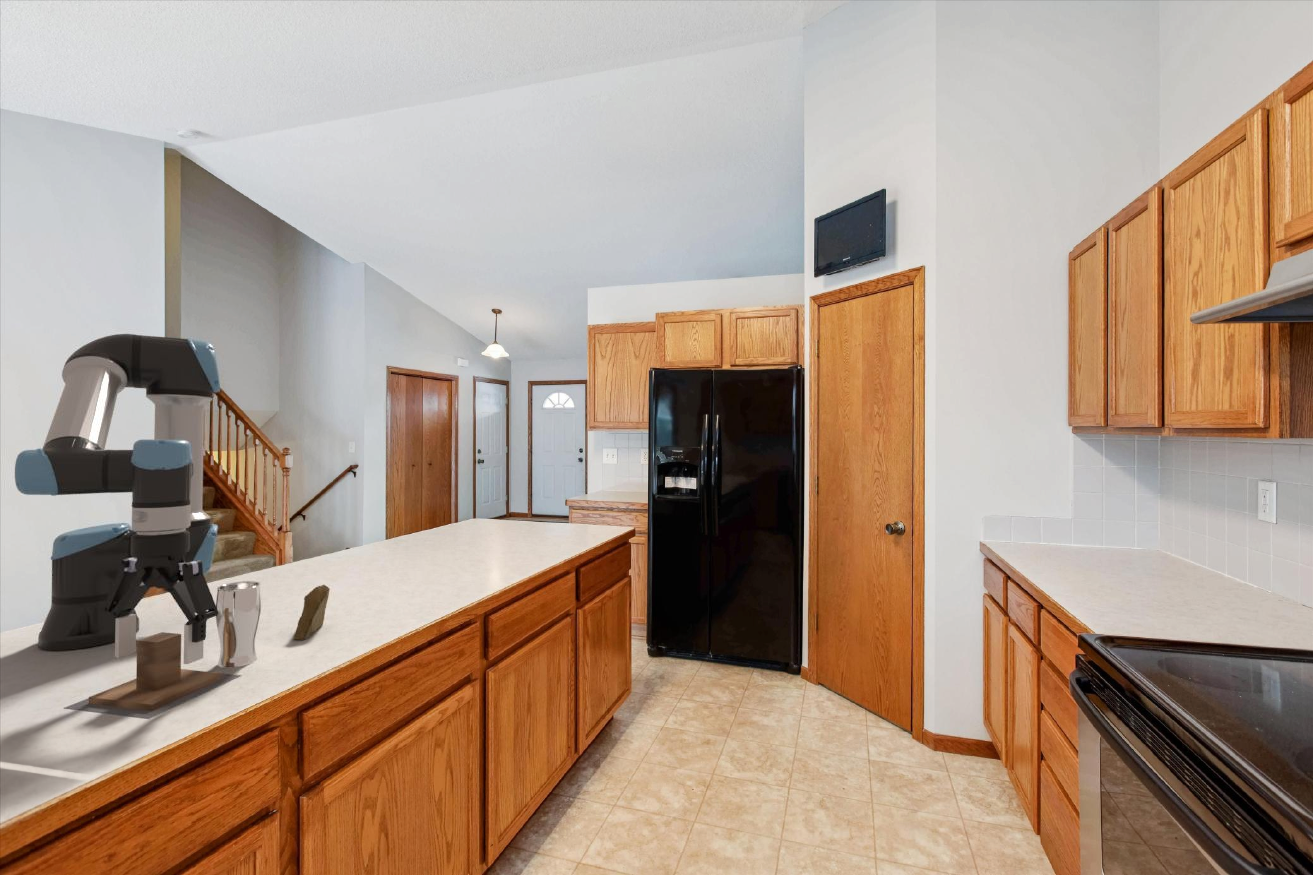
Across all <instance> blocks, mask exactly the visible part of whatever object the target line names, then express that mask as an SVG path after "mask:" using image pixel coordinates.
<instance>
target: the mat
mask: <svg viewBox="0 0 1313 875" xmlns="http://www.w3.org/2000/svg"><path fill="white" fill-rule="evenodd" d="M195 671H197V669H196V670H195ZM204 672H206V671H205V670H204ZM221 673H222V672H221ZM239 677H242V675H241V674H231V673H225V672H223V673H222V679H221V680H219V681H217V682H214V683H212V684H210V685H208V686H206V687H203V688H201V689H199V690H197V691H195V692H192V693H190V694H188V695H186V696H184V697H181V698H179V699H177V700H175V701H173V702H170V703H168V704H166V705H164V706H162V707H159V708H157V709H155V710H153V711H147V710H139V709H131V708H122V707H114V706H106V705H98V704H90V703H89V697H88V698H85V699H83V700H81V701H77V702H75V703H73V704H70V705H68V706H65V707H64V710H65V709H66V710H67V709H68V710H74V711H75V710H76V711H83V712H91V713H98V714H104V715H105V714H106V715H112V716H121V717H122V716H123V717H131V718H136V719H137V718H138V719H146V720H150V719H152V718H154V717H156V716H158V715H161V714H163V713H164V712H167V711H168V710H169V711H170V710H171V709H173V708H176V707H177V706H179V705H182V704H185V703H186V702H189V701H190V700H193V699H195V698H197V697H199V696H201V695H204V694H205V693H207V692H210V691H211V690H212V691H213V690H214V689H216V688H218V687H221V686H223V685H224V684H227V683H229V682H231V681H234V680H235V679H238V678H239Z"/></svg>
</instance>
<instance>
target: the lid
mask: <svg viewBox="0 0 1313 875" xmlns="http://www.w3.org/2000/svg"><path fill="white" fill-rule="evenodd" d="M181 667H182V633H173V632H166V631H165V632H158V633H155V634H152V635H149V636H145V637H143V638H140V639H136V676H135V677H136V678H134V679H131V680H129V681H127V682H123V683H121V684H119V685H116V686H113V687H112V688H111V687H110V688H108V689H106V690H103V691H100V692H98V693H96V694H94V695H91V696H88V698H89V703H90V704H98V705H106V706H114V707H122V708H131V709H139V710H147V711H153V710H155V709H157V708H159V707H162V706H164V705H166V704H168V703H170V702H173V701H175V700H177V699H179V698H181V697H184V696H186V695H188V694H190V693H192V692H195V691H197V690H199V689H201V688H203V687H206V686H208V685H210V684H212V683H214V682H217V681H219V680H221V679H222V672H214V671H205V670H204V671H205V672H204V671H202V670H196V671H195V670H194V669H185V668H181Z"/></svg>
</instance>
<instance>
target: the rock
mask: <svg viewBox="0 0 1313 875" xmlns="http://www.w3.org/2000/svg"><path fill="white" fill-rule="evenodd" d="M329 595H330V587H328V586H327V585H325V584H322V585H318V586H316V587H314V588H313V589H312V590H311V591H309V593H307V594H306V595H305V596H304V598H303V600H304V602H303V609H302V613H301V616H300V617H299V619H298V622H297V626H296V629H295V632H294V636H293V637H292V639H293V640H305V639H308V638H309V637H310V636H312V634H313V633H315V632H316V631H318V630H319V629H320V628H322V626H323V625H324V621H325V615H326V609H327V604H328V600H329ZM317 629H318V630H317Z"/></svg>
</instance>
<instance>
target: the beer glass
mask: <svg viewBox="0 0 1313 875" xmlns="http://www.w3.org/2000/svg"><path fill="white" fill-rule="evenodd" d="M215 598H216V600H215V605H216V607H217V610H218V615H217V616H215V622H216V628H217V635H218V639H219V643H220V653H219V659H218V662H217V667H218V668H221V669H237V668H241V667H247V666H248V665H251V664H254V663H255V662H256V661H257V659H258V657H257V653H256V643H255V642H256V635H257V633H258V632H257V631H258V627H259V623H260V622H259V621H260V617H261V612H262V611H261V610H262V609H261V607H262V596H261V583H260V581H255V580H254V581H253V580H250V581H249V580H248V581H246V580H245V581H244V580H243V581H236V582H229V583H226V584H222V585H219V586H218V587H217V590H216V597H215Z"/></svg>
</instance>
